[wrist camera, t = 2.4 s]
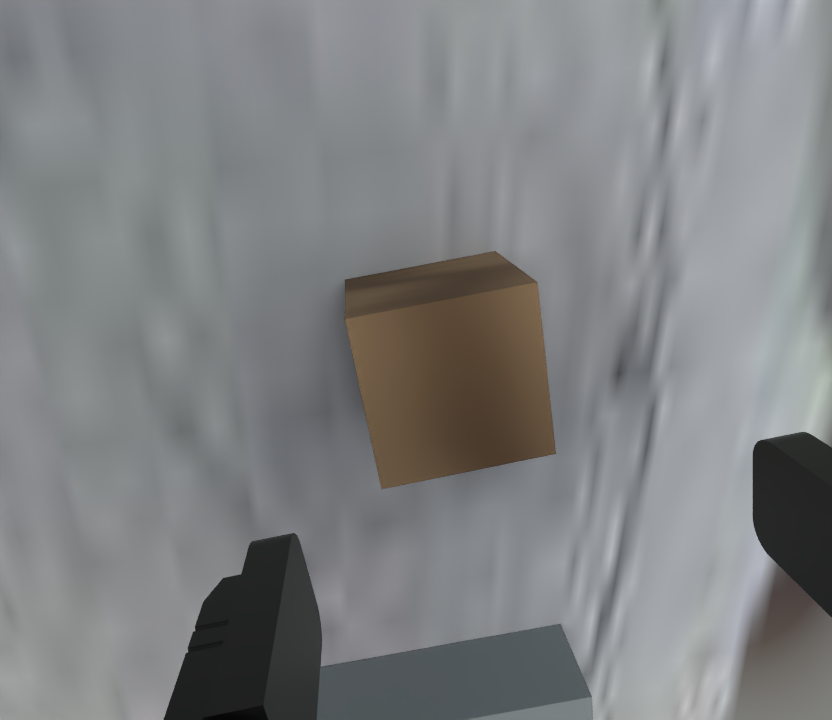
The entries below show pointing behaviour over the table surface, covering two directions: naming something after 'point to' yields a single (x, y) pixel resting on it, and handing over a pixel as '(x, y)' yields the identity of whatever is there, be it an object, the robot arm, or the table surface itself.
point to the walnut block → (450, 367)
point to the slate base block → (462, 682)
